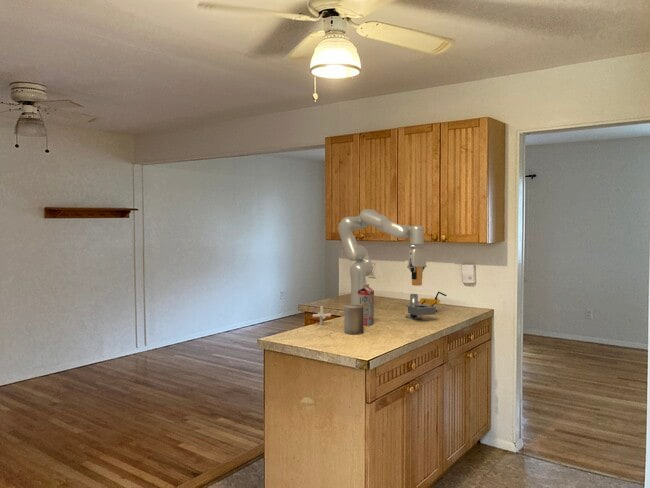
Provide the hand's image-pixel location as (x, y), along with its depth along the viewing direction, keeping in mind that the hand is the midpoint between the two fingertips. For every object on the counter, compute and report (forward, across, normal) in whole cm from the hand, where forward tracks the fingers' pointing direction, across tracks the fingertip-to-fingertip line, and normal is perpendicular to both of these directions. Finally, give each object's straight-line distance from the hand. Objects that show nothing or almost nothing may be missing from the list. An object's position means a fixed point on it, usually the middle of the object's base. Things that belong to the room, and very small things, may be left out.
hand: (416, 278), depth 288 cm
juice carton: (+24, -34, +5) cm, 41 cm away
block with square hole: (+24, +2, +2) cm, 24 cm away
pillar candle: (+24, -51, -7) cm, 57 cm away
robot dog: (+24, +27, +14) cm, 39 cm away
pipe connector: (+23, -54, +18) cm, 61 cm away
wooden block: (+4, 0, 0) cm, 4 cm away
